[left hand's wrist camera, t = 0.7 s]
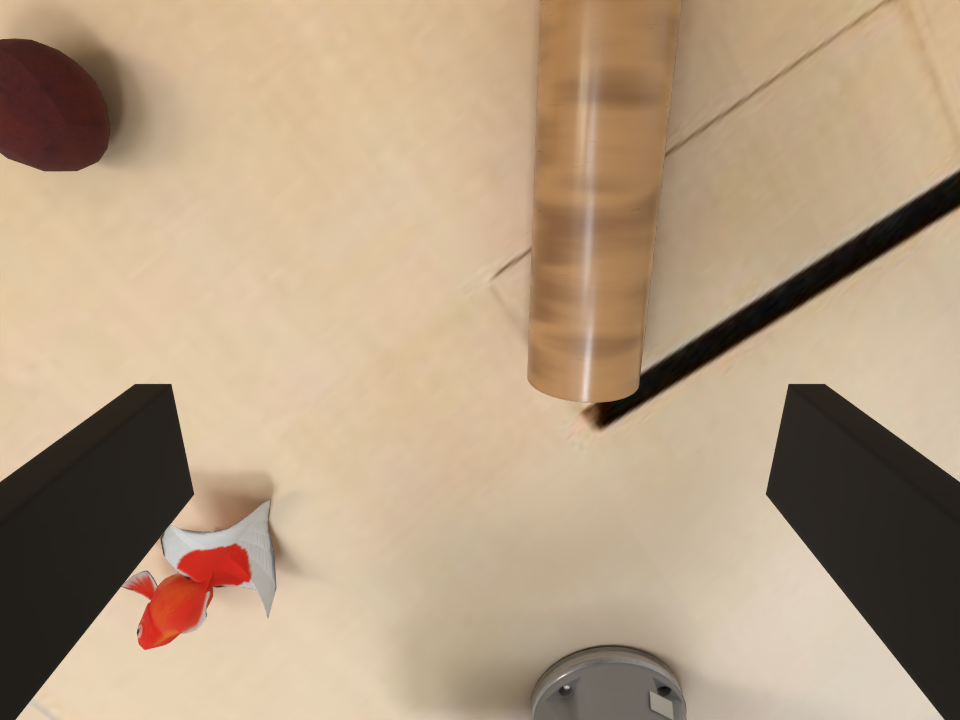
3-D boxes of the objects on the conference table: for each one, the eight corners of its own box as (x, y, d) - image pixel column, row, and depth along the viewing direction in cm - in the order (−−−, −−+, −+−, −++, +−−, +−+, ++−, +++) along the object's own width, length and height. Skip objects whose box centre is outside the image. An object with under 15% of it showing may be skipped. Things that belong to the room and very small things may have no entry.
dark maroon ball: (70, 23, 38) (-16, 0, 31) (157, 131, 40) (94, 131, 33) (-6, 92, 39) (-103, 84, 33) (82, 192, 41) (7, 204, 35)
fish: (64, 563, 48) (62, 658, 40) (229, 441, 51) (256, 508, 44) (158, 619, 54) (172, 710, 47) (298, 508, 58) (332, 575, 50)
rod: (624, 359, 46) (652, 402, 39) (523, 358, 46) (531, 402, 39) (664, -37, 37) (711, -79, 29) (536, -37, 37) (550, -80, 29)
